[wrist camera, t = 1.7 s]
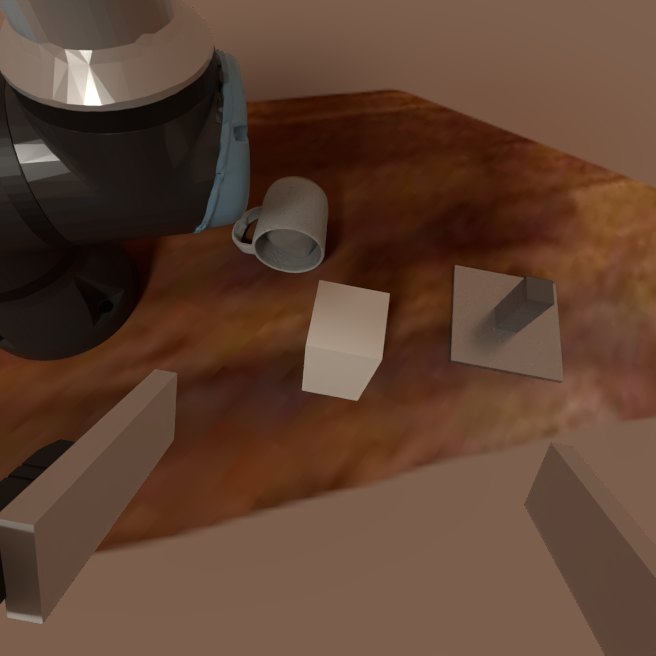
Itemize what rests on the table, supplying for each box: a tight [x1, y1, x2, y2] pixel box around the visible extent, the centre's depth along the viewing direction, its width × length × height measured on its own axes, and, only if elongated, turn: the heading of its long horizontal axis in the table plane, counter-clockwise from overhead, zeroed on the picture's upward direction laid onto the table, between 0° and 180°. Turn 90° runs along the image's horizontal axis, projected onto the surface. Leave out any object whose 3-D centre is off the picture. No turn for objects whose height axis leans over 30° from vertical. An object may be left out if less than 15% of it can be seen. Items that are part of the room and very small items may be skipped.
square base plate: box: [449, 265, 564, 383], centre depth 42 cm, size 12×12×7 cm
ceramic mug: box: [232, 176, 329, 273], centre depth 44 cm, size 11×8×8 cm
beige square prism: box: [302, 280, 390, 401], centre depth 36 cm, size 6×6×12 cm
